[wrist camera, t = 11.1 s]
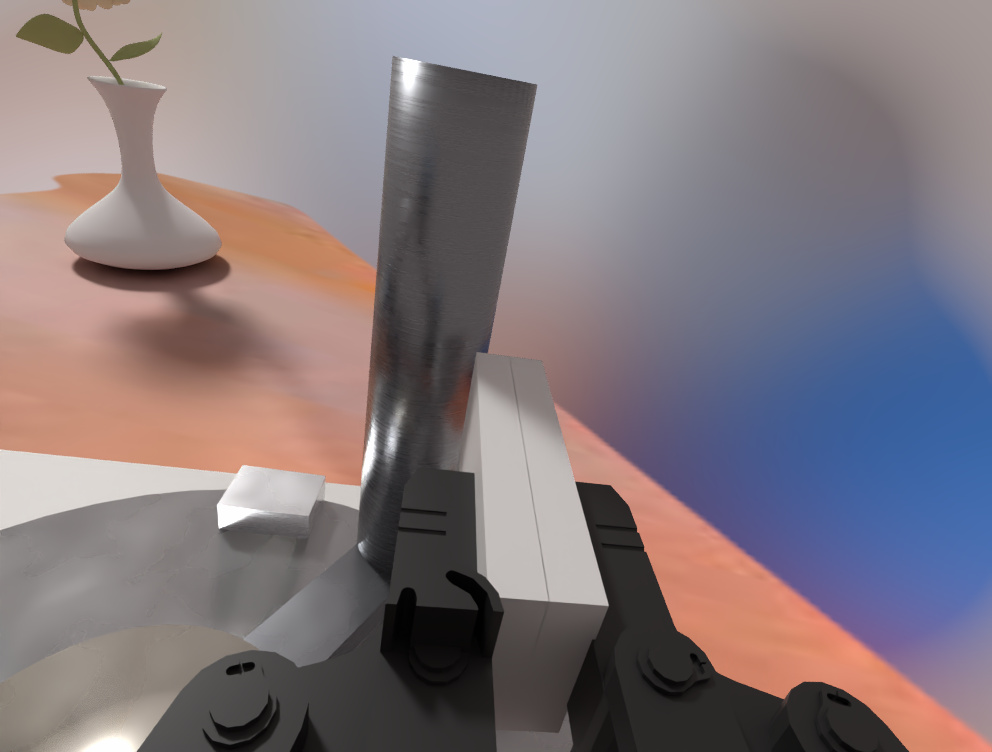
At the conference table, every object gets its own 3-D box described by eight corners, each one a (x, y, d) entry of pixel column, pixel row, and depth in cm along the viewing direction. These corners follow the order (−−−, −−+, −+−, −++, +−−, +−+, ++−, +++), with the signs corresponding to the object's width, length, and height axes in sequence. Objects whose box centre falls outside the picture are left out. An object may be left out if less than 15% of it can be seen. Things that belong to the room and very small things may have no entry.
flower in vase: (239, 249, 54) (225, -69, 42) (194, 290, 44) (159, -110, 32) (93, 229, 52) (35, -111, 40) (11, 267, 42) (-97, -169, 30)
